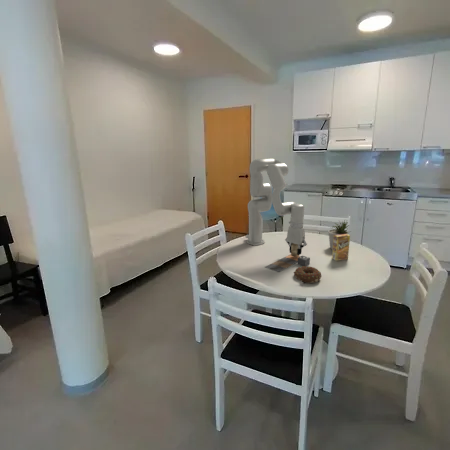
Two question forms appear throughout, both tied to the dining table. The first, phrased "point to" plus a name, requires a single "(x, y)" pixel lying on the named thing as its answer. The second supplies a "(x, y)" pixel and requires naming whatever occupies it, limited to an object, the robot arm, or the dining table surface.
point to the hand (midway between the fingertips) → (295, 253)
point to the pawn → (294, 250)
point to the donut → (307, 274)
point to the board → (283, 263)
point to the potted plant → (337, 232)
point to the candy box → (340, 247)
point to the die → (303, 260)
